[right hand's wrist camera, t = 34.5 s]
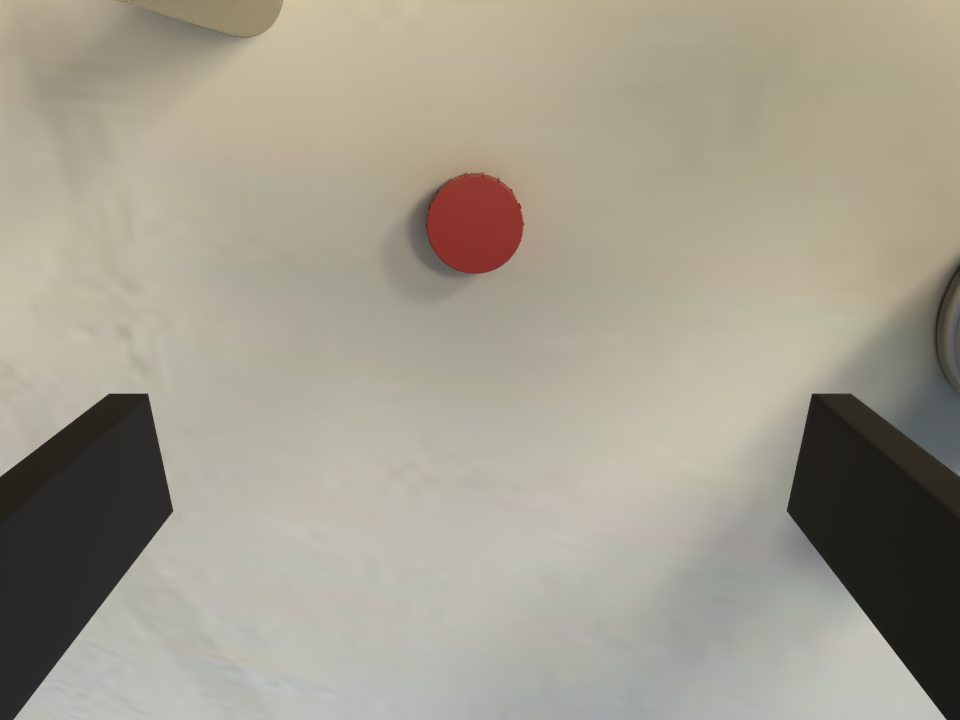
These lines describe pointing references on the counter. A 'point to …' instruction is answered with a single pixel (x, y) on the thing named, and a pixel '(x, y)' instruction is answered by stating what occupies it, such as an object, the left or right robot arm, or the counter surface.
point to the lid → (475, 223)
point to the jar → (218, 13)
